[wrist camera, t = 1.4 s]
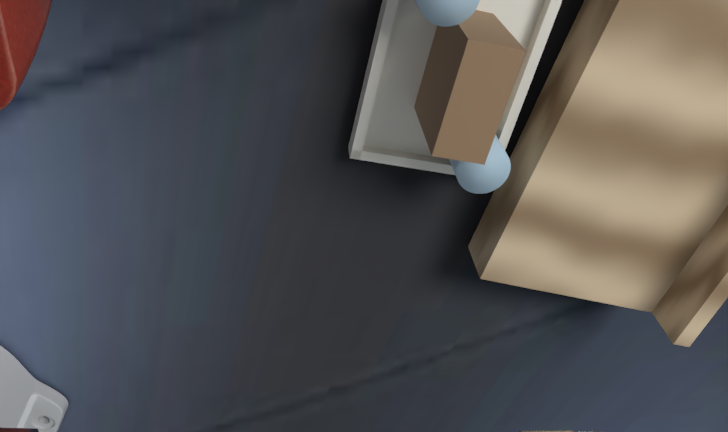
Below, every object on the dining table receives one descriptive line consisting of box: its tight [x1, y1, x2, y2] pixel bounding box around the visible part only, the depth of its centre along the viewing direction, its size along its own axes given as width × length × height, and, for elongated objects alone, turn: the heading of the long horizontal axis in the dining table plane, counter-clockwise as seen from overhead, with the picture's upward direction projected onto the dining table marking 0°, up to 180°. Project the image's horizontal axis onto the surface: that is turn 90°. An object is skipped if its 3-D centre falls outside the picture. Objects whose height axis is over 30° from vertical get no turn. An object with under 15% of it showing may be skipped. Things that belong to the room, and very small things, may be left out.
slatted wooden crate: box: [468, 0, 728, 347], centre depth 37 cm, size 22×14×6 cm, turn 163°
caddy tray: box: [348, 0, 562, 194], centre depth 33 cm, size 13×9×7 cm
